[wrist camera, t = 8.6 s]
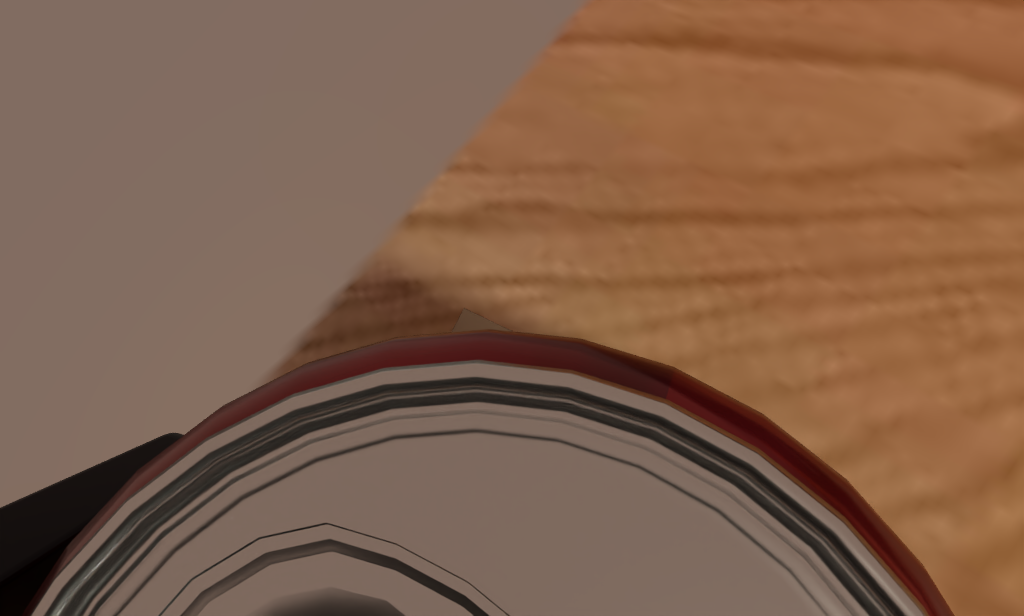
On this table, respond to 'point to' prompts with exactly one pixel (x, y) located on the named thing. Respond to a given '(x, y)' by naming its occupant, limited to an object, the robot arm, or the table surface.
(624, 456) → the soda can
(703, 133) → the table surface
